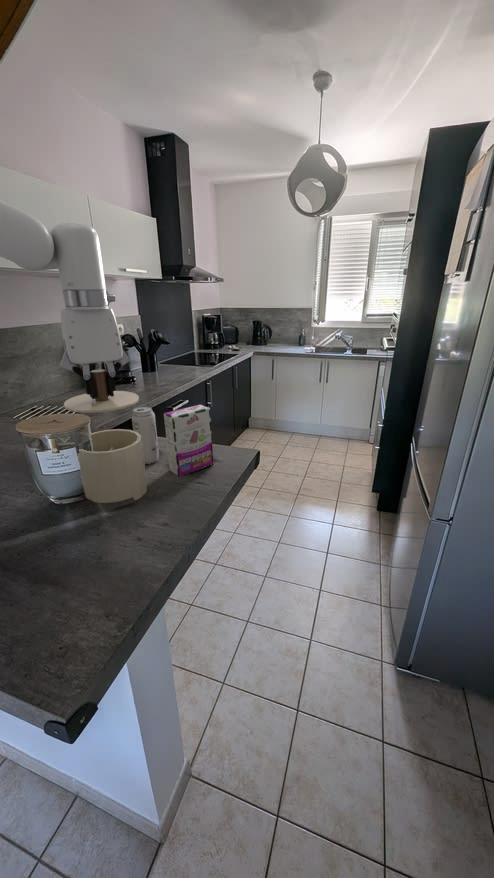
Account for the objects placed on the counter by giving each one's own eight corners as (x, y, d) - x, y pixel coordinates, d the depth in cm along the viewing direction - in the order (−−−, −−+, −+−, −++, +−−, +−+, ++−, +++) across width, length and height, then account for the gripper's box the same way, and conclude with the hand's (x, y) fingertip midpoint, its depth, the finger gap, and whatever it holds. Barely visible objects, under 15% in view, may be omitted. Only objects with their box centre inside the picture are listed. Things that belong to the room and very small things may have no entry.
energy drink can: (159, 464, 97) (154, 412, 92) (136, 466, 96) (129, 413, 90) (159, 455, 103) (154, 405, 97) (137, 457, 101) (131, 407, 96)
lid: (71, 420, 65) (63, 382, 62) (59, 402, 76) (52, 368, 73) (149, 407, 72) (145, 372, 70) (128, 392, 84) (124, 361, 81)
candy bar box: (203, 459, 100) (200, 403, 94) (213, 465, 97) (211, 407, 90) (168, 471, 93) (162, 412, 87) (178, 478, 90) (173, 417, 84)
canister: (93, 516, 74) (81, 458, 69) (80, 489, 85) (69, 436, 80) (155, 497, 81) (149, 443, 76) (136, 474, 92) (130, 425, 87)
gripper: (124, 300, 74) (135, 387, 81) (35, 301, 65) (55, 398, 72) (135, 300, 68) (146, 394, 75) (39, 302, 59) (61, 407, 66)
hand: (101, 395), depth 73 cm, fingers closed on lid, 2 cm apart
